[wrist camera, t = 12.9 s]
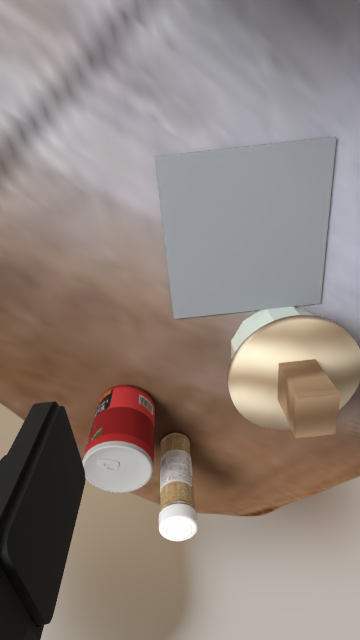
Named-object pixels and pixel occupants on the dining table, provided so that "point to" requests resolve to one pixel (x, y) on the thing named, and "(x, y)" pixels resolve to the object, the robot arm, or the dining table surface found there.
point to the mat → (246, 225)
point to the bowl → (262, 322)
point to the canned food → (121, 440)
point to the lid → (295, 375)
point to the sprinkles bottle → (176, 489)
